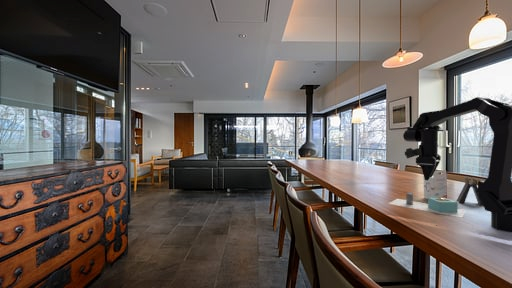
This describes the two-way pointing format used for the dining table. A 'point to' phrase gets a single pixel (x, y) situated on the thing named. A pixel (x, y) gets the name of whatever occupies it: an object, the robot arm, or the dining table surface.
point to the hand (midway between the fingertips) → (428, 178)
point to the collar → (443, 205)
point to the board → (423, 206)
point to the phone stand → (466, 189)
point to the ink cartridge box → (436, 185)
